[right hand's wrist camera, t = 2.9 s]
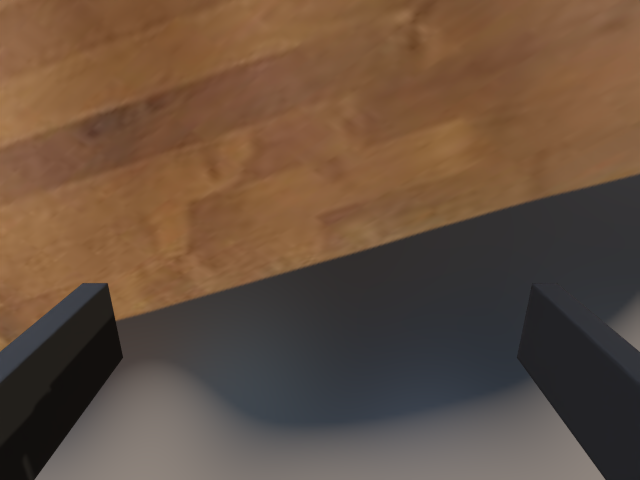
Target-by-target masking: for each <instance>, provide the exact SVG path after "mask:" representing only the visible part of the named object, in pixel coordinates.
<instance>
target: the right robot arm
mask: <svg viewBox="0 0 640 480" xmlns="http://www.w3.org/2000/svg"><path fill="white" fill-rule="evenodd" d="M122 358H123V355H122V351H121V346H120V341H119V336H118V331H117V326H116V321H115V317H114V312H113V307H112V302H111V297H110V292H109V288H108V283H83V284H81V285H80V286H79V287H78V288H77V289H75V290H74V291H73V292H72V293H71V294H69V295H68V296H67V297H66V298H65V299H63V300H62V301H61V302H60V303H59V304H57V305H56V306H55V307H54V308H53V309H51V310H50V311H49V312H48V313H47V314H45V315H44V316H43V317H42V318H41V319H39V320H38V321H37V322H36V323H34V324H33V325H32V326H31V327H30V328H28V329H27V330H26V331H25V332H24V333H22V334H21V335H20V336H19V337H18V338H16V339H15V340H14V341H13V342H12V343H10V344H9V345H8V346H7V347H6V348H4V349H3V350H2V351H1V352H0V480H34V479H35V478H36V477H37V475H38V474H39V473H40V471H41V470H42V468H43V467H44V466H45V464H46V463H47V462H48V460H49V459H50V457H51V456H52V455H53V453H54V452H55V451H56V449H57V448H58V446H59V445H60V444H61V442H62V441H63V440H64V438H65V437H66V435H67V434H68V433H69V431H70V430H71V428H72V427H73V426H74V424H75V423H76V422H77V420H78V419H79V417H80V416H81V415H82V413H83V412H84V411H85V409H86V408H87V406H88V405H89V404H90V402H91V401H92V400H93V398H94V397H95V395H96V394H97V393H98V391H99V390H100V389H101V387H102V386H103V384H104V383H105V382H106V380H107V379H108V378H109V376H110V375H111V373H112V372H113V371H114V369H115V368H116V366H117V365H118V364H119V362H120V361H121V360H122ZM517 358H518V360H519V361H520V362H521V364H522V365H523V366H524V368H525V369H526V371H527V372H528V373H529V375H530V376H531V378H532V379H533V380H534V382H535V383H536V384H537V386H538V387H539V389H540V390H541V391H542V393H543V394H544V395H545V397H546V398H547V400H548V401H549V402H550V404H551V405H552V406H553V408H554V409H555V411H556V412H557V413H558V415H559V416H560V417H561V419H562V420H563V422H564V423H565V424H566V426H567V427H568V428H569V430H570V431H571V433H572V434H573V435H574V437H575V438H576V440H577V441H578V442H579V444H580V445H581V446H582V448H583V449H584V450H585V452H586V453H587V455H588V456H589V457H590V459H591V460H592V462H593V463H594V464H595V466H596V467H597V468H598V470H599V471H600V473H601V474H602V475H603V477H604V478H605V479H606V480H640V352H639V351H638V350H637V349H636V348H634V347H633V346H632V345H631V344H629V343H628V342H627V341H626V340H625V339H624V338H622V337H621V336H620V335H619V334H618V333H616V332H615V331H614V330H613V329H611V328H610V327H609V326H608V325H607V324H605V323H604V322H603V321H602V320H601V319H599V318H598V317H597V316H596V315H595V314H593V313H592V312H591V311H590V310H589V309H587V308H586V307H585V306H584V305H583V304H581V303H580V302H579V301H578V300H577V299H575V298H574V297H573V296H572V295H571V294H569V293H568V292H567V291H566V290H565V289H563V288H562V287H561V286H560V285H559V284H557V283H533V284H532V288H531V292H530V297H529V302H528V307H527V312H526V317H525V321H524V326H523V331H522V336H521V341H520V346H519V350H518V355H517Z"/></svg>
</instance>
